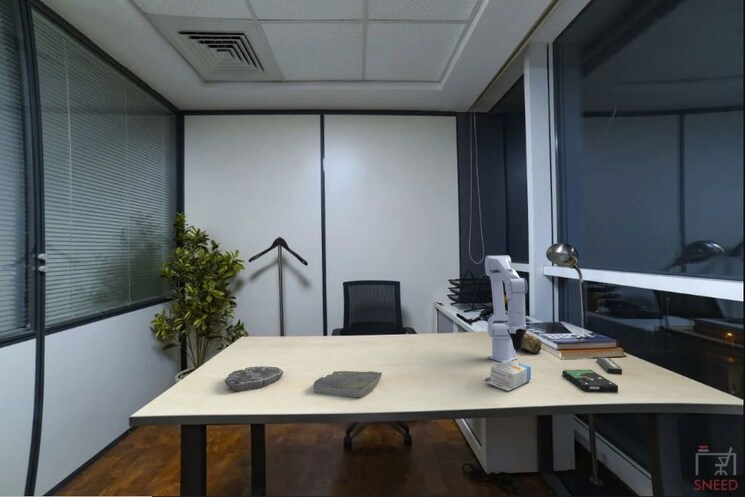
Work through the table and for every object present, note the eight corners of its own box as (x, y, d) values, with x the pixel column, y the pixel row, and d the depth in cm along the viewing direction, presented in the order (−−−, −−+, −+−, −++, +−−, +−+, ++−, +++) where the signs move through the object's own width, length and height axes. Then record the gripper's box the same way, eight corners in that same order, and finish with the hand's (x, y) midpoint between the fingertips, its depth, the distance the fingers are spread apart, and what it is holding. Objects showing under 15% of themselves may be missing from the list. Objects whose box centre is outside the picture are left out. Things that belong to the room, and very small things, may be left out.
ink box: (531, 366, 113) (509, 376, 103) (530, 380, 113) (509, 392, 103) (507, 359, 119) (485, 368, 110) (507, 372, 119) (485, 382, 110)
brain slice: (267, 370, 129) (266, 362, 129) (289, 381, 117) (289, 373, 117) (214, 384, 115) (214, 375, 115) (233, 398, 103) (233, 389, 103)
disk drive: (619, 394, 103) (591, 376, 118) (619, 385, 103) (590, 368, 118) (585, 393, 104) (561, 376, 118) (585, 385, 104) (561, 368, 118)
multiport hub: (608, 374, 120) (608, 367, 120) (596, 362, 133) (596, 356, 133) (622, 375, 118) (622, 369, 118) (609, 363, 132) (609, 357, 132)
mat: (503, 374, 120) (503, 373, 120) (528, 383, 111) (528, 381, 111) (484, 380, 115) (484, 378, 115) (509, 389, 106) (509, 388, 106)
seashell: (545, 355, 143) (545, 336, 143) (524, 355, 143) (523, 336, 143) (534, 348, 154) (533, 331, 154) (514, 348, 154) (513, 331, 154)
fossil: (330, 378, 122) (309, 393, 105) (331, 365, 122) (309, 379, 106) (382, 385, 116) (367, 402, 100) (382, 372, 117) (368, 387, 100)
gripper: (510, 308, 125) (510, 343, 125) (499, 313, 114) (500, 352, 113) (529, 309, 121) (530, 346, 121) (521, 315, 109) (522, 356, 109)
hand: (517, 349), depth 117 cm, fingers closed
